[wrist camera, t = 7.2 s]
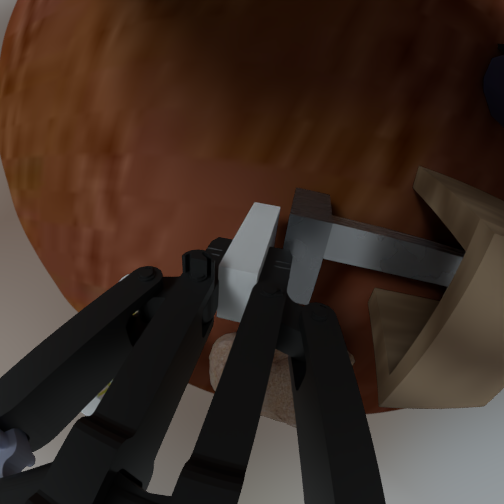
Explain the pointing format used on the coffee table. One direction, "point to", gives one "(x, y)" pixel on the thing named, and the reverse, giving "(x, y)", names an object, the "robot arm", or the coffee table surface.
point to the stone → (279, 383)
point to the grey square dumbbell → (357, 247)
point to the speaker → (495, 87)
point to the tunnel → (447, 312)
